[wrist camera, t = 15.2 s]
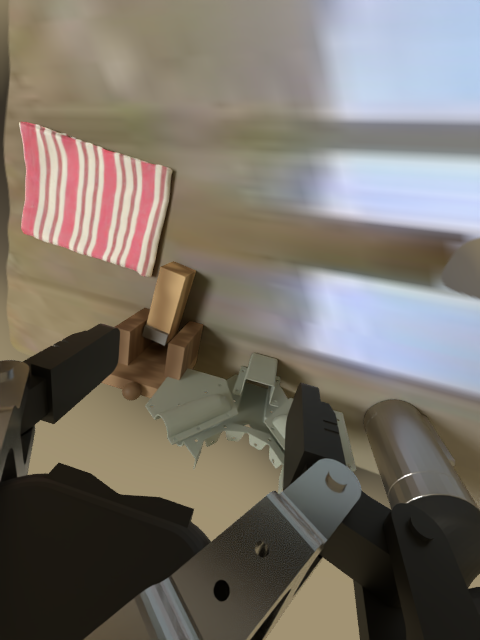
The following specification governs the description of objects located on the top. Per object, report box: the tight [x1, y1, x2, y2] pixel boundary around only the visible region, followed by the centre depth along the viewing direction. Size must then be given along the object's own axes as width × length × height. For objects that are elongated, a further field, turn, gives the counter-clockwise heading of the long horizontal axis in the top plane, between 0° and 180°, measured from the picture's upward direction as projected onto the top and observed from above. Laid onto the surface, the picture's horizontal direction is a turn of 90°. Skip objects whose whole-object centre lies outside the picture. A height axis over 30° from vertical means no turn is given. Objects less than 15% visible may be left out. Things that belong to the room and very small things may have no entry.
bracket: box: [146, 353, 356, 494], centre depth 40 cm, size 28×7×20 cm, turn 78°
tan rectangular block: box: [142, 261, 196, 346], centre depth 45 cm, size 4×12×6 cm, turn 160°
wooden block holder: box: [101, 308, 203, 400], centre depth 44 cm, size 11×8×14 cm
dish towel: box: [19, 122, 173, 277], centre depth 43 cm, size 17×23×4 cm
